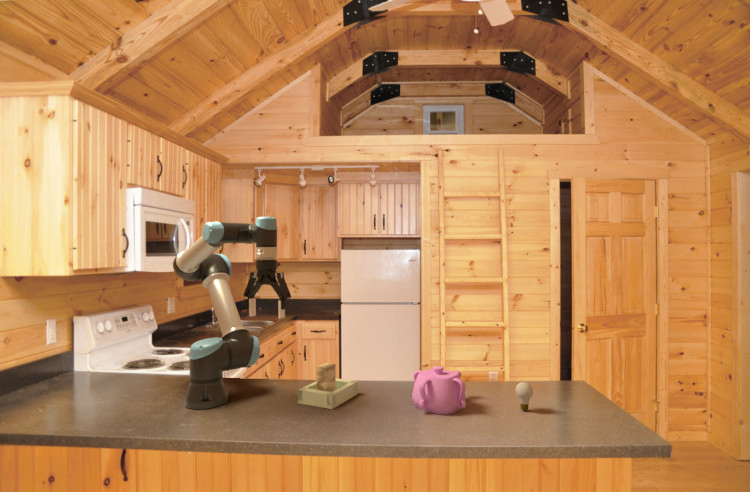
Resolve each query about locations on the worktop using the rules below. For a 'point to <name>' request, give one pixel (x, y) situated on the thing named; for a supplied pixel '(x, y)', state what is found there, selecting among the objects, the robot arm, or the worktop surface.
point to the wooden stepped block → (326, 377)
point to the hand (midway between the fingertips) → (266, 317)
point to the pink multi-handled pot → (439, 391)
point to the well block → (328, 394)
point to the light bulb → (524, 394)
